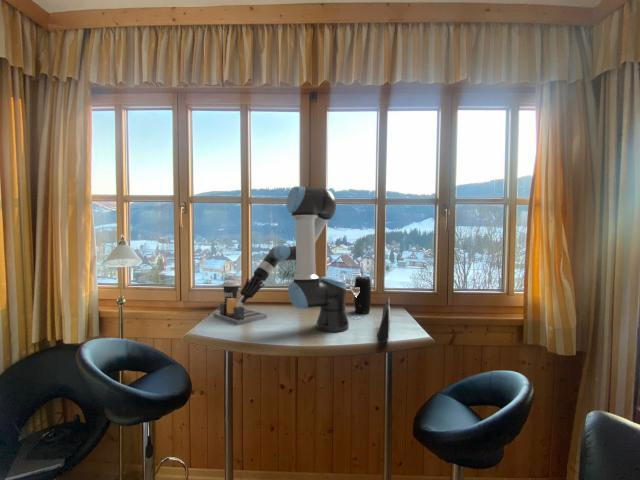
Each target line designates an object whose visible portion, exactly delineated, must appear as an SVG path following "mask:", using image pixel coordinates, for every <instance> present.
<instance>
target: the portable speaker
mask: <svg viewBox="0 0 640 480" xmlns="http://www.w3.org/2000/svg"><path fill="white" fill-rule="evenodd" d="M371 286H372V285H371V277H370V276H360V275H358V276H355V280H354V288H355V287H360V293H359V295H358V296H357V298H356V297H355V295H354V300H353V303H354V312H356V313H355V314H359V313H360V314H362V315H367V313H368V314H369V313H370V311H371V310H370V309H371V301H372V299H371V298H372V287H371Z"/></svg>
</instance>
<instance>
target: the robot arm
mask: <svg viewBox="0 0 640 480" xmlns="http://www.w3.org/2000/svg"><path fill="white" fill-rule="evenodd" d="M286 198H287V199H286V210H287V212H289V213H291V218H292V219H293V221H295V228H294V229H295V245H293V246H291V245H290V246H288V245H286V244H280V245H277V246H273V247H272V248H271V249H270V250H269V251H268V253H267V254H266V256H265V257H264V259H263V260H262V261H261V262H260V263H259V265H258V266H257V268H256V269H255V270H254V272H253V275H252V276H251V278H247V279H246V281H245V283H244V286H243V287H242V289H241V291H240V293H239V294H240V297H238V302H237V307H239V306H241V307H243V305H244V304H245V303H246V301H247V300H249V299H252V298H253V297H254V296H255V295H256V294H257V293H258V292H259V291H260V289H262V288H263V287H265V284H264V282H265V281H267V279H268V278H269V277H270V275H271V273H272V272H273V271H274V269H275V268H276V266H277V265H278V264H279V263H281V262H287V261H295V262H296V264H295V267H296V268H295V269H296V270H295V271H296V272H295V273H296V274H295V276H293V278H292V282H291V283H290V284H289V285H288V288H287V289H288V291H287V292H288V297H289V301H290V302H291V304H292V306H293V308H295V309H297V310H302V309H304V310H307V309H314V308H320V309H319V310H320V311H319V312H318V317H317V319H316V325H315V327H316V329H317V330H319V331H323V332H328V333H329V332H330V333H337V332H338V333H339V332H344V331H347V330H348V329H349V327H350V326H349V325H350V323H349V320H348V316H347V313H346V293H347V291H346V290H347V287H346V285H347V284H346V281H345V280H344V279H342V278H339V277H338V278H337V277H332V276H321V277H319V275H317V270H316V269H317V268H316V266H317V265H316V242H317V241H318V239H319V237H320V236H321V234H322V231H323V230H324V228H325V226H326V224H327V223H328V221H329V220H331V219H332V218H333V217H334V215H335V212H336V210H337V202H336V198H335V196H334V194H333V192H331V191H330V189H327V188H326V187H325V188H324V187H313V186H305V185H302V186H301V185H300V186H299V185H298V186H297V185H296V186H294V187H292V188H290V190H289V192H288V194H287V197H286Z"/></svg>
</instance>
